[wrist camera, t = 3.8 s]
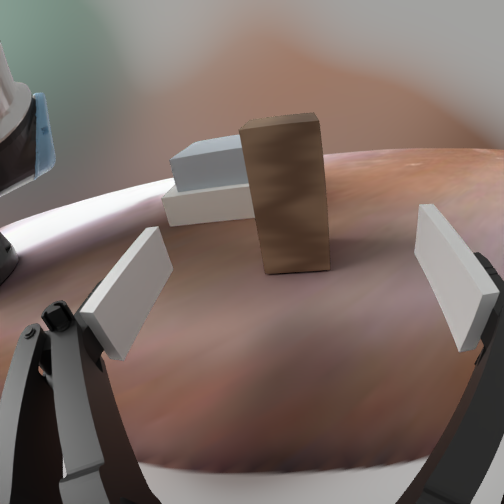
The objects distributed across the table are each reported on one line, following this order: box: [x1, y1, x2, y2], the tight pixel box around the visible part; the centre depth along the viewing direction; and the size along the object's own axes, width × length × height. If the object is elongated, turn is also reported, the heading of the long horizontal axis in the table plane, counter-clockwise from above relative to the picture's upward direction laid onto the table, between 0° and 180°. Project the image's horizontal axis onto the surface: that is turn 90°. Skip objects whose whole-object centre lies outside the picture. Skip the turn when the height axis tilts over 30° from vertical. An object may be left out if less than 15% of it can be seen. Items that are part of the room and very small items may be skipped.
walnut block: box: [239, 113, 330, 274], centre depth 22 cm, size 5×5×11 cm
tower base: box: [161, 183, 255, 227], centre depth 38 cm, size 12×12×4 cm
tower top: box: [169, 135, 249, 192], centre depth 35 cm, size 9×9×4 cm
